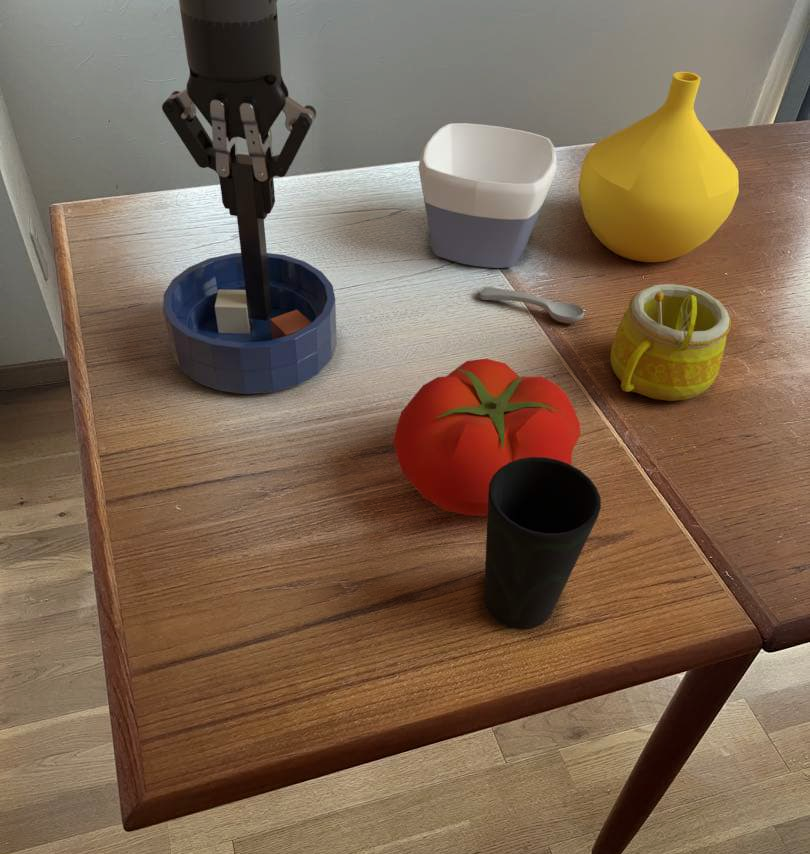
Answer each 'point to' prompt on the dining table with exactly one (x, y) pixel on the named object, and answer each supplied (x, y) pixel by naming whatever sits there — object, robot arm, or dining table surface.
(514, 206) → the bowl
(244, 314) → the block
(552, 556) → the cup
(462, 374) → the tomato
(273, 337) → the block
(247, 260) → the stick
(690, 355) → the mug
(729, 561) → the dining table surface
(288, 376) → the bowl
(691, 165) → the vase
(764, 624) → the dining table surface
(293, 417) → the dining table surface
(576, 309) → the spoon
